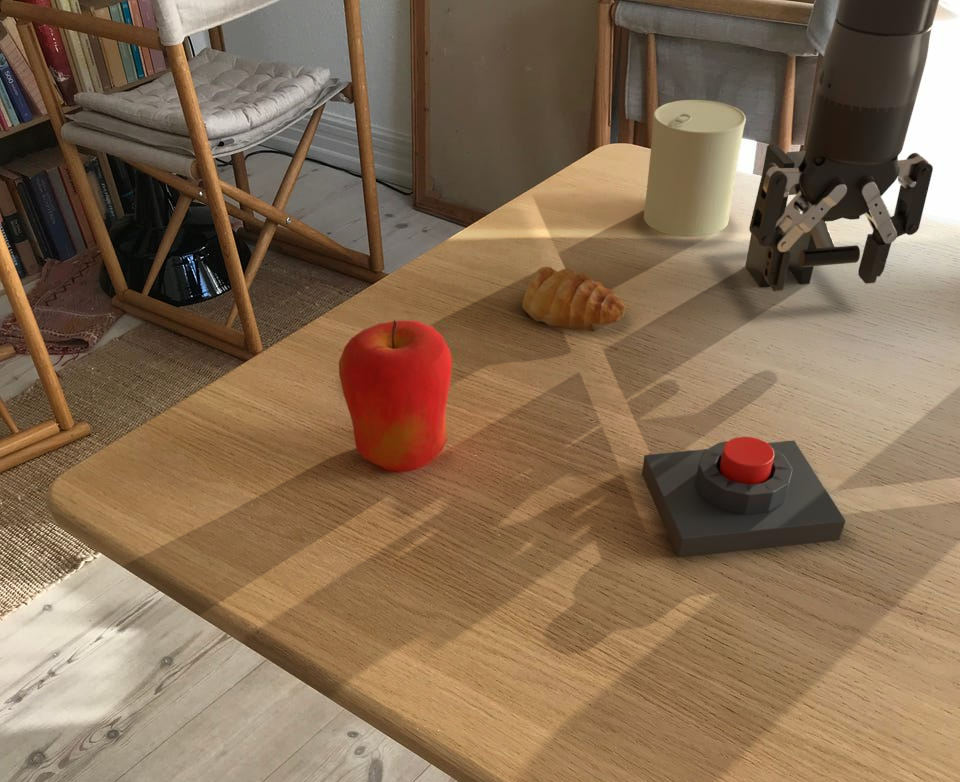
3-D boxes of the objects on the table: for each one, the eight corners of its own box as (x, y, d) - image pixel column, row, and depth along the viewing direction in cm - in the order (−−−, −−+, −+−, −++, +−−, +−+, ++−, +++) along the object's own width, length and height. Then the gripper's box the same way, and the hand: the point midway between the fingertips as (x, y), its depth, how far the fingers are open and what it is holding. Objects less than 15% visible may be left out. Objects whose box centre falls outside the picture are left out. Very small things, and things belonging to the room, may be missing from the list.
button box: (789, 463, 82) (799, 419, 79) (838, 544, 75) (852, 500, 72) (641, 478, 81) (646, 435, 78) (677, 562, 74) (685, 518, 71)
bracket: (842, 312, 98) (877, 175, 89) (750, 321, 98) (777, 182, 88) (796, 256, 107) (824, 124, 98) (711, 262, 106) (732, 131, 97)
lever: (853, 270, 91) (864, 249, 89) (799, 274, 91) (808, 254, 89) (815, 170, 96) (824, 148, 94) (763, 174, 96) (771, 152, 94)
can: (623, 228, 112) (634, 110, 103) (678, 203, 116) (693, 87, 107) (690, 257, 107) (707, 135, 98) (745, 229, 111) (766, 110, 103)
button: (760, 454, 77) (764, 434, 75) (777, 483, 74) (781, 463, 73) (712, 458, 76) (716, 438, 75) (728, 488, 74) (732, 468, 73)
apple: (395, 414, 87) (385, 281, 79) (476, 447, 84) (475, 312, 75) (327, 464, 82) (308, 327, 74) (410, 501, 79) (401, 363, 70)
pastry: (635, 313, 99) (639, 275, 96) (605, 346, 95) (608, 307, 92) (547, 291, 102) (549, 253, 99) (514, 321, 98) (515, 283, 95)
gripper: (797, 109, 78) (758, 310, 89) (976, 97, 79) (914, 297, 91) (763, 76, 83) (730, 270, 94) (932, 65, 84) (878, 258, 96)
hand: (820, 283), depth 92 cm, fingers open, 8 cm apart
